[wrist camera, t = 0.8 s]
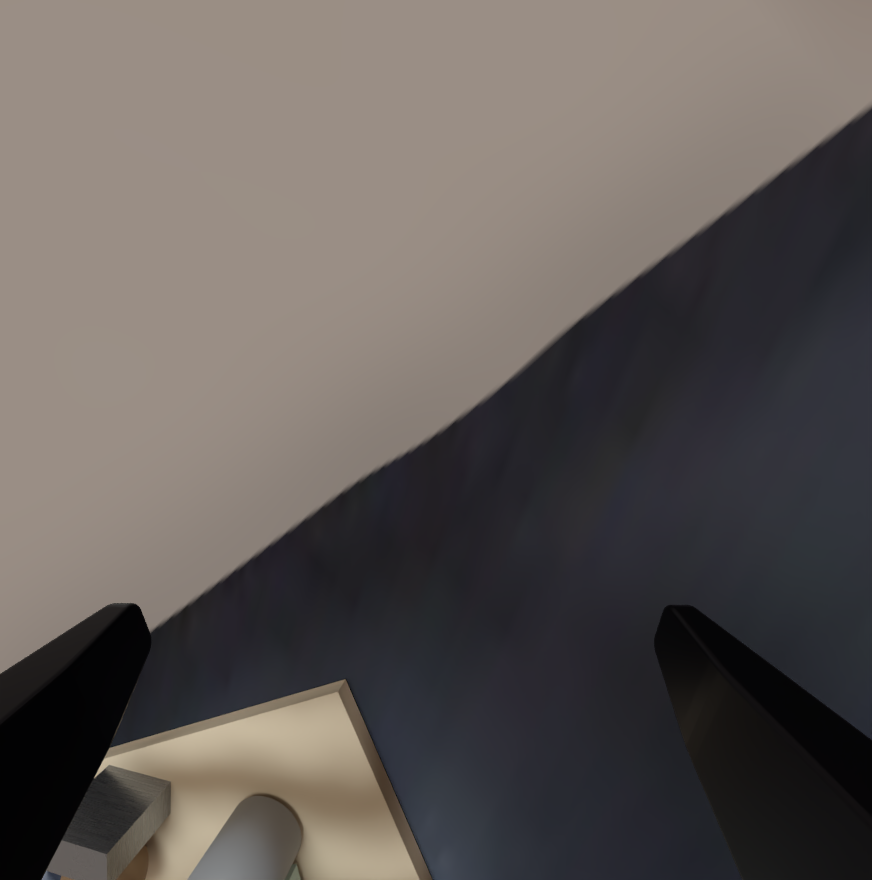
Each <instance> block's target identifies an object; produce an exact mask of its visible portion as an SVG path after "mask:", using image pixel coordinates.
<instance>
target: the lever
mask: <svg viewBox="0 0 872 880" xmlns="http://www.w3.org/2000/svg"><path fill="white" fill-rule="evenodd" d="M300 846H301V831H300V827H299V824H298V822H297V820H296V819H295V817H294V816H293V814H292V813H291V812H290V811H289V810H288V809H287V808H286V807H285V806H284V805H283V804H281V803H280V802H278V801H276V800H274V799H272V798H269V797H264V796H252V797H248V798H246V799H244V800H243V801H241V802H240V803H239V804H238V805H237V807H236V808H235V810H234V811H233V813H232V814H231V816H230V817H229V818H228V820H227V821H226V823H225V824H224V826H223V827H222V829H221V830H220V832H219V833H218V835H217V836H216V838H215V839H214V841H213V842H212V844H211V845H210V847H209V848H208V850H207V851H206V852H205V854H204V855H203V857H202V858H201V860H200V861H199V863H198V864H197V866H196V867H195V869H194V870H193V872H192V873H191V875H190V876H189V878H188V879H187V880H301V878H300V875H299V871H298V867H297V864H293V862H294V860H295V858H296V856H297V853H298V851H299V849H300Z"/></svg>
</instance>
